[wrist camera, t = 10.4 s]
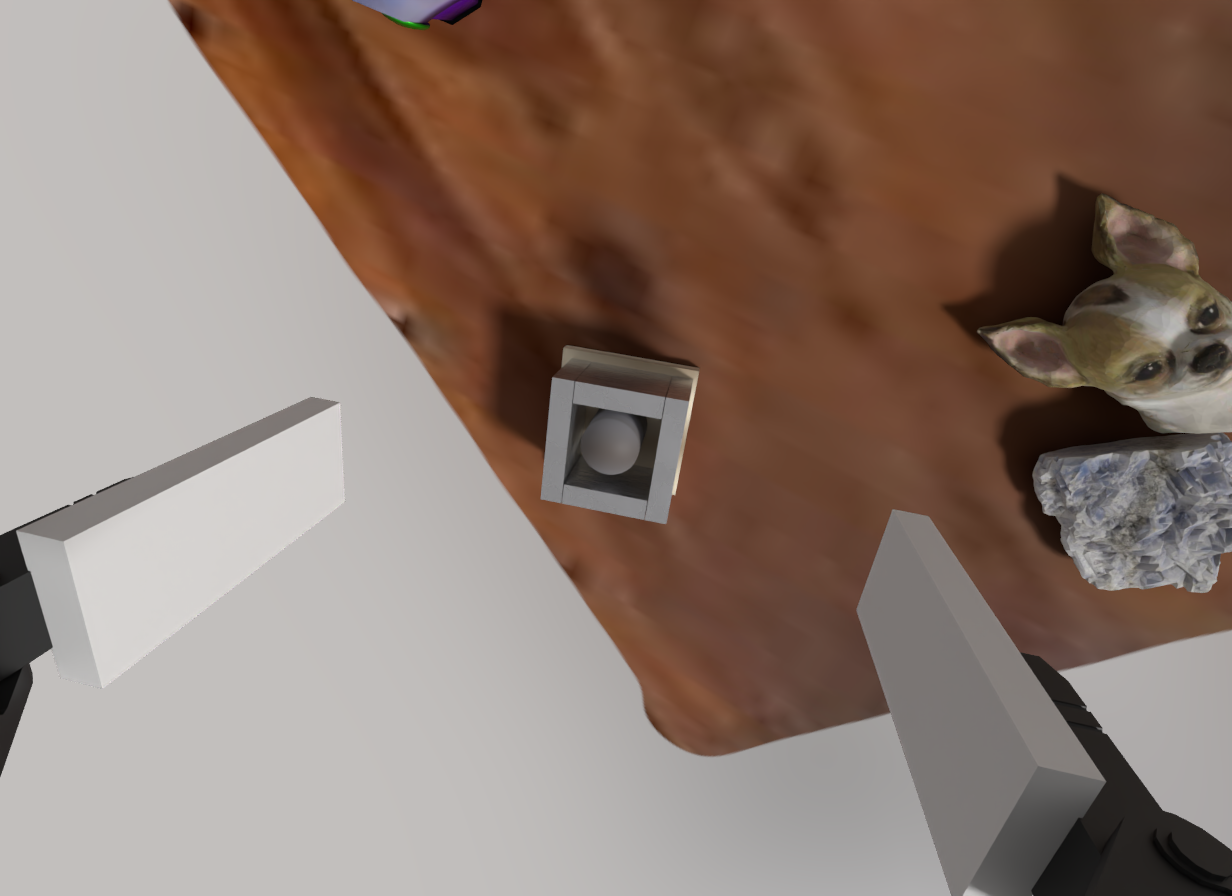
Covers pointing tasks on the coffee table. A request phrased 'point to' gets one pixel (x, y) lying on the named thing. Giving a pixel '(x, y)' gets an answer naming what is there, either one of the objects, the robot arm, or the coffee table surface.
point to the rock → (1142, 508)
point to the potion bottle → (422, 10)
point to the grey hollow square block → (624, 393)
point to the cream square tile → (626, 419)
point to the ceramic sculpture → (1136, 329)
